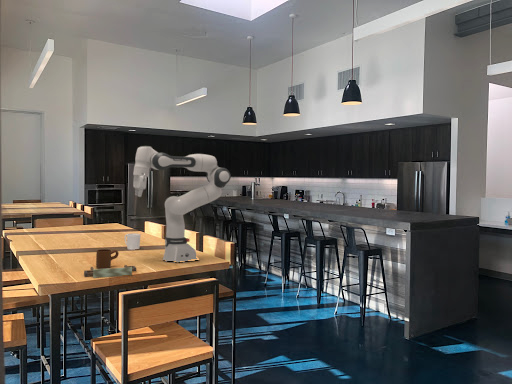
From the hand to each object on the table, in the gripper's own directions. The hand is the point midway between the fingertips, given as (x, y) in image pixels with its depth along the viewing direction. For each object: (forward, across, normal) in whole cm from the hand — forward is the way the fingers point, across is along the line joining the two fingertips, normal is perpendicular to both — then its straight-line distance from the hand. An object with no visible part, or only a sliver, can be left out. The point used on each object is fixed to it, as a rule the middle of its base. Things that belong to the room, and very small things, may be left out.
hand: (138, 196), depth 240 cm
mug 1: (+40, -9, +13) cm, 43 cm away
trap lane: (+40, -23, +13) cm, 48 cm away
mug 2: (+38, +44, -9) cm, 59 cm away
